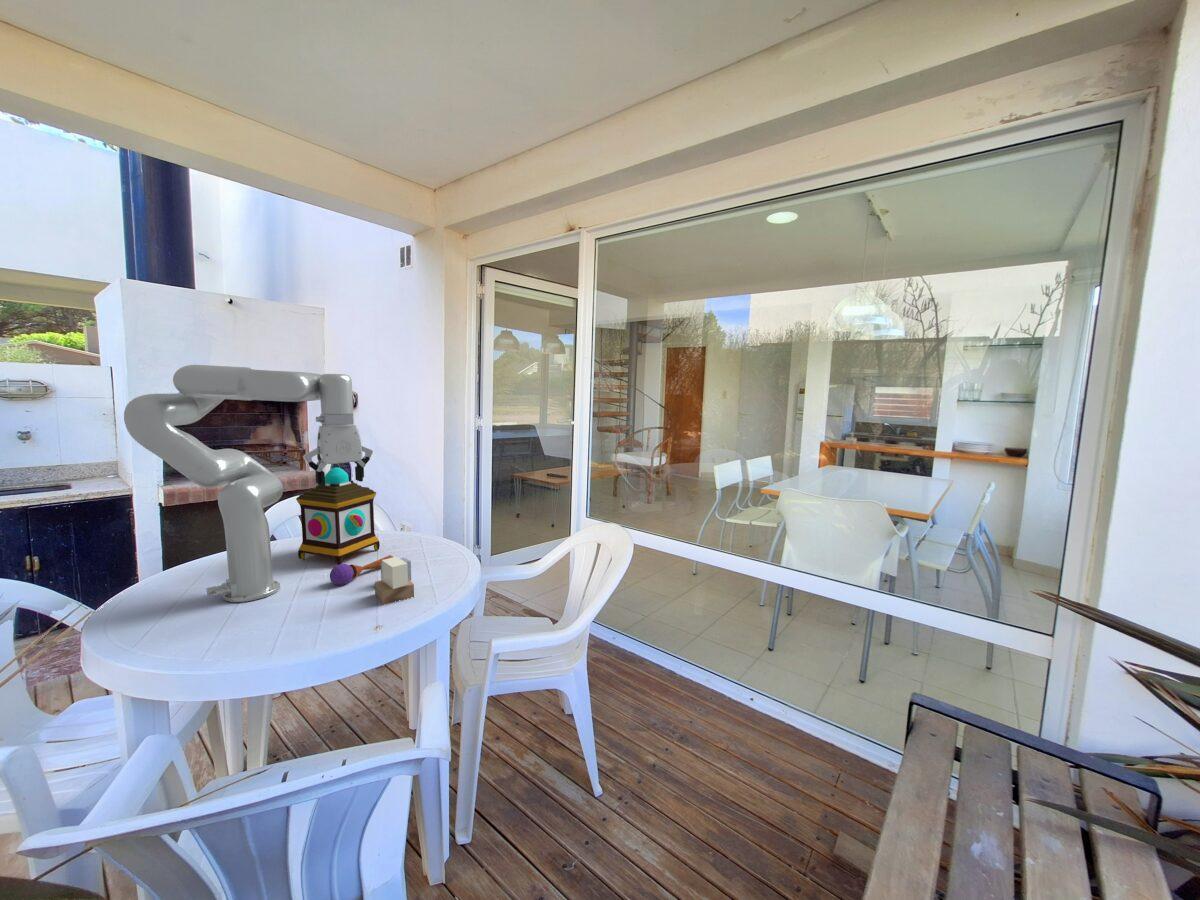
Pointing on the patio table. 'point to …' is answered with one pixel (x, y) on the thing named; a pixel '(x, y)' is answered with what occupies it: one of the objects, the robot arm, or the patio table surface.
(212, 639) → the patio table surface
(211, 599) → the patio table surface
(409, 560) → the slate grey brick
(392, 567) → the cream brick
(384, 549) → the patio table surface
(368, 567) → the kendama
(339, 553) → the decorative lantern
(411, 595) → the walnut block
